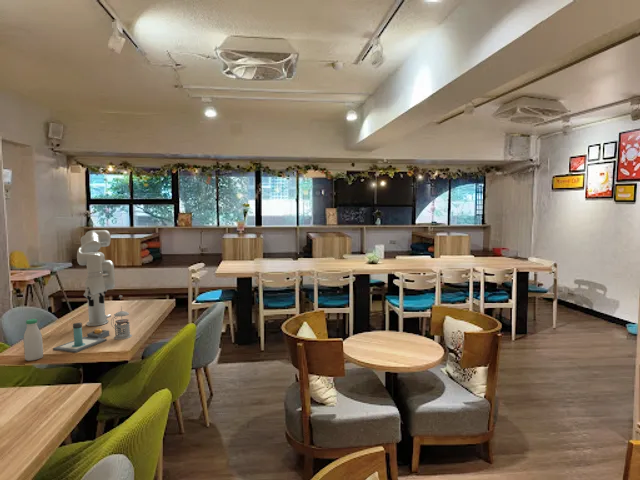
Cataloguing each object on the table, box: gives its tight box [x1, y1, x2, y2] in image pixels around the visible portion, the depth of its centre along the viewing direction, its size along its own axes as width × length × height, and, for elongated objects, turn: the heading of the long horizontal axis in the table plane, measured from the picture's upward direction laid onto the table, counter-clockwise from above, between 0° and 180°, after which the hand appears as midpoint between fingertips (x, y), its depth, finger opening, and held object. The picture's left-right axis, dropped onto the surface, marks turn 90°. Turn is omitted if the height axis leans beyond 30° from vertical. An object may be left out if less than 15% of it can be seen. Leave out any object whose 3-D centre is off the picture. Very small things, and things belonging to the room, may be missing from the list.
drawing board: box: [52, 336, 107, 353], centre depth 225 cm, size 20×16×1 cm
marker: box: [72, 322, 83, 346], centre depth 221 cm, size 4×4×12 cm
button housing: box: [86, 329, 110, 339], centre depth 238 cm, size 8×8×3 cm
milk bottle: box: [23, 318, 44, 362], centre depth 205 cm, size 8×8×20 cm
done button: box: [94, 328, 103, 334], centre depth 238 cm, size 4×4×3 cm
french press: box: [110, 294, 133, 341], centre depth 237 cm, size 10×12×25 cm
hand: (96, 304), depth 237 cm, fingers open, 6 cm apart
